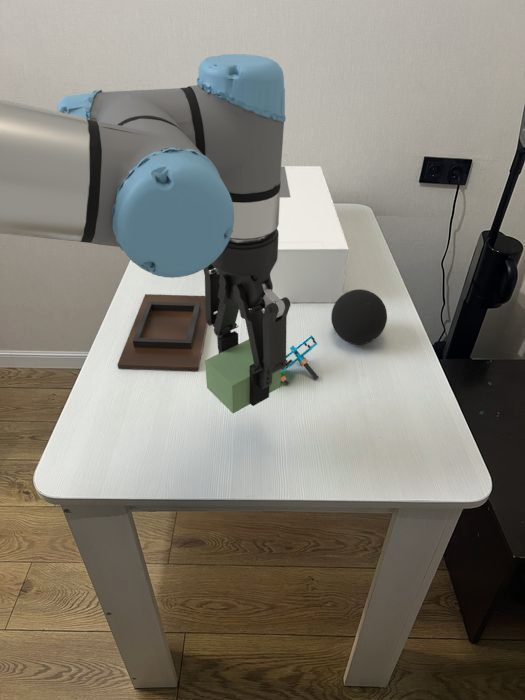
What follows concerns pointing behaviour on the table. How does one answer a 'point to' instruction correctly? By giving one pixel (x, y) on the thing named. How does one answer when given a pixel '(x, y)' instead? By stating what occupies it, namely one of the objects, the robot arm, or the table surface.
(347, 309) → the speaker
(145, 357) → the back board
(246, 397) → the green rectangular block
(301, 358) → the stick construction toy
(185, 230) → the robot arm
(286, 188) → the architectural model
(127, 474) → the table surface
